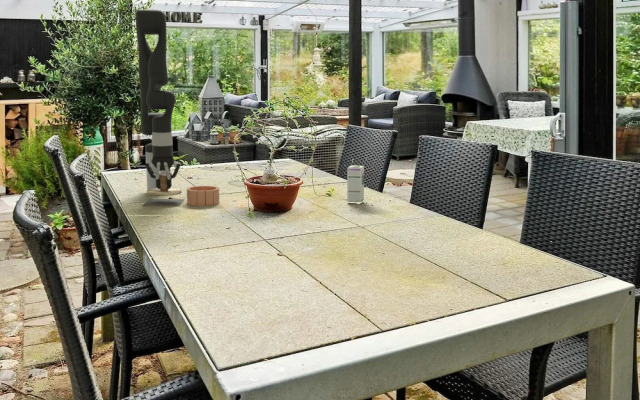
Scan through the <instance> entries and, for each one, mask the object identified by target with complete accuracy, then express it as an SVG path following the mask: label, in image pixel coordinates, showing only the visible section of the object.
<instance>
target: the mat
mask: <svg viewBox="0 0 640 400" xmlns="http://www.w3.org/2000/svg"><path fill="white" fill-rule="evenodd" d="M185 200H186V199H185V198H149V199H148V200H147V201H145V202H144V203H143V204H142V205H141V207H180V206H181V205H182V204H183V202H185Z"/></svg>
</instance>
